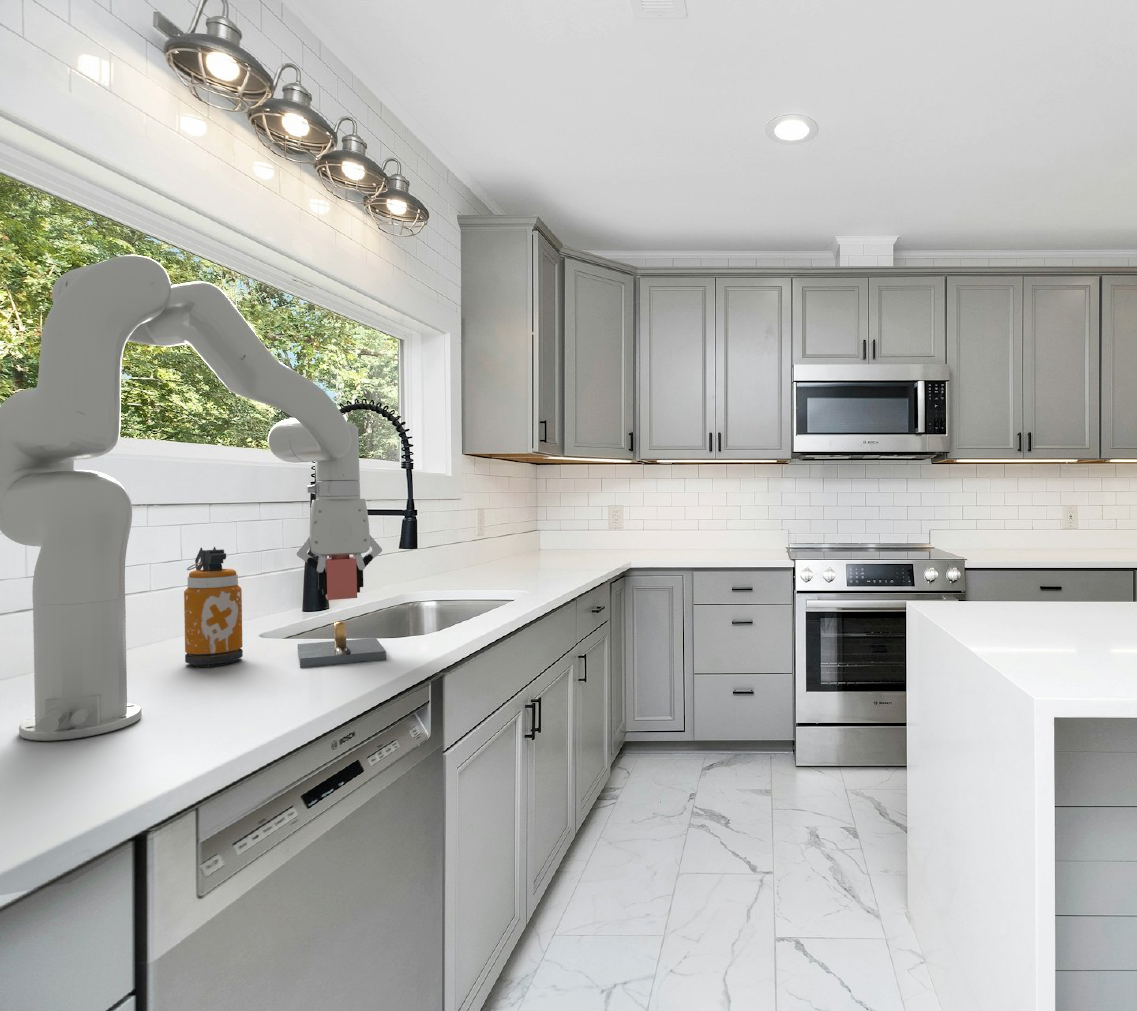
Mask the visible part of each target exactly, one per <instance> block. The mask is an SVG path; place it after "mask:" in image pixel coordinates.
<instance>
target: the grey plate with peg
mask: <svg viewBox="0 0 1137 1011" xmlns="http://www.w3.org/2000/svg"><path fill="white" fill-rule="evenodd" d="M333 623H334V624H333V628H334V631H333V632H334V636H333V637H334V640H332V641H331V640H330V641H320V642H308V643H298V644H297V656H298V661H299V668H301V669H303V668H312V667H313V668H314V667H320V666H321V667H322V666H333V665H343V664H344V663H345V664H353V662H356V663H360V662H359V661H367V662H377V661H385V660H387V651H386V649H385V648H384V646H383V645H382V644H381V642H380V641H379V640H378V639H377V638H376V637H369V638H356V639H355V638H354V639H347V622H346V621H335V622H333ZM345 664H344V665H345Z"/></svg>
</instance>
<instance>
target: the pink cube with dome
mask: <svg viewBox="0 0 1137 1011" xmlns="http://www.w3.org/2000/svg"><path fill="white" fill-rule="evenodd" d="M324 568H325V571H326V574H327V594H326V595H325V599H326V600H327V601H335V600H350V599H358V593H357V571H356V558H355V557H353V556H350V555H332V556H330V557H327V560H326V563H325V567H324Z"/></svg>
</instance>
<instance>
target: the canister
mask: <svg viewBox="0 0 1137 1011" xmlns="http://www.w3.org/2000/svg"><path fill="white" fill-rule="evenodd" d="M226 559H227V553H225V549H221V548H220V549H217V548H216V546H214V547H213V549H205V550H204V549H203V547H200V549H199V551H198V553H197V555H196V557H195V559H194V564H192V565H190V566H189V567H186V571H190V572H189V573H188V576H187V588H186V589H185V590H184V592H183V602H184V603H183V604H184V605H183V608H184V609H183V610H184V611H183V613H184V652H185V654H184V660H185V663H186V664H189V665H193V666H194V667H201V668H204V667H205V668H206V667H207V668H208V667H211V668H212V667H220V666H224V665H229V664H232V663H234V662H235V661H236V660H239V659H242V658H243V651H244V650H243V649H242V648H243V599H242V598H243V596H242V595H243V592H242V587H241V586H240V585H239V578H238V577H239V576H238V573H237V570H235V569H232V568H223V564H224V560H226ZM193 569H195V570H193ZM191 570H193V571H191Z"/></svg>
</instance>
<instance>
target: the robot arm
mask: <svg viewBox="0 0 1137 1011" xmlns="http://www.w3.org/2000/svg"><path fill="white" fill-rule="evenodd" d="M51 299H52V306H51V307H50V310H49V311H48V313H47V317H46V319H45V321H44V324H43V327H42V332H41V340H40V351H39V352H40V353H39V359H38V361H39V364H38V377H37V383H36V387H32V388H26V389H23V390H21V391H18V392H16V393H13V394H12V395H11V396H9V397H8V398H7V399H6V400H5V401H3V402H2V404H1V405H0V532H1V533H2V534H3V536H5V537H6V538H7V539H10V540H11V541H13V542H15V543H17V544H20V545H24V546H29V547H40V549H39V553H38V557H37V559H36V563H35V566H34V570H33V578H32V589H31V590H32V591H31V592H32V620H33V621H32V624H33V626H32V628H33V630H32V631H33V670H34V673H33V677H34V679H33V680H34V684H33V685H34V686H33V687H34V716H31V717H29V718H27V719H25V720H24V721H23V722H22V723H20V724H19V727H18V730H19V731H18V734H19V736H20V737H21V738H23V739H26V740H29V741H30V740H31V741H44V742H45V741H48V742H49V741H63V740H64V741H65V740H73V739H80V738H87V737H91V736H92V737H93V736H97V735H101V734H102V735H103V734H106V733H109V732H110V733H111V732H113V731H117V730H120V729H123V728H126V727H129V726H131V725H133V724H134V723H136V722H138V721H139V720H140V719H141V718H142V716H143V715H142V707H141V706H139V705H137V704H134V703H129V702H128V678H127V676H128V675H127V674H128V671H127V670H128V669H127V666H128V665H127V620H126V618H127V617H126V559H127V558H126V557H127V549H128V548H127V547H128V543H129V539H130V533H131V528H132V522H133V506H132V500H131V499H130V496H129V494H128V492H127V490H126V489H125V488H124V486H123V485H122V484H121V482H119V481H117V479H115V478H114V477H111V476H109V475H107V474H105V473H103V472H99V471H95V470H89V469H87V470H85V469H75V470H74V467H75V466H74V465H75V463H74V462H75V461H77V460H88V459H93V458H99V457H101V456H104V455H106V454H108V453H110V452H111V451H112V450H113V449H114V448H115V447H116V445H117V443H118V442H119V439H120V435H121V434H120V433H121V425H122V424H121V419H122V418H121V413H122V412H121V411H122V404H121V403H122V402H121V401H122V390H121V389H122V363H123V354H124V350H125V346H126V344H127V342H130V343H131V342H132V343H136V344H141V345H150V346H157V347H176V346H182V345H190V346H191V347H192V349H193V350H194V351H195V352H196V353H197V354H198V356H199V357H200V358H201V359H202V360H203V361H204V362H205V363H206V365H207V366H208V367H209V368H210V370H211V371H212V372H213V373H214V374H215V375H216V377H217V378H218V379H219V381H221V382H222V384H223V385H224V386H225V388H227V390H229V391H230V392H231V393H233V394H235V395H237V396H240V397H242V398H245V399H247V400H248V399H249V401H250V400H251V401H254V402H257V403H261V404H265V405H268V406H270V407H274V408H276V409H278V410H280V411H282V412H284V413H286V414H287V415H289V416H291V417H292V418H287V419H282V420H281V421H279V422H277V423H276V424H274V425H273V426H272V427H271V429H270V431H269V433H268V436H267V444H268V447H269V450H270V451H271V453H272V454H273V455H274V456H275V457H276V458H277V459H279V460H282V461H284V462H287V463H295V464H296V463H311V462H315V463H314V464H315V465H314V466H315V483H313V484H311V485H306V486H307V488H306V489H307V490H306V491H307V494H314V495H315V496H316V497H315V498H316V499H312V500H311V505H310V513H309V514H310V516H309V536H308V537H307V539H306V540H305V541H304V543H303V544H302V545H301V546H300V547H299V549H298V550H297V551H296V556H297V557H298V558H299V559H301V560H302V561H304V562H305V563H307V564H308V565H309V566H311V567H312V568H313V569H314V570H315V571H316V572H317V586H318V587H317V588H318V591H321V592H322V596H326V594H327V574H326V571H325V563H326V560H327V558H328V556H329V557H331V556H332V555H349V556H350V555H352V557H355V558H356V571H357V594H358V593H361V588H364V570H365V568H366V567H367V566H368V565H369V564H370V563H371V562H372V561H373V560H374V559H375V558H376V557H377V556H379V554H381V553H382V551H383V548H382V547H381V546H380V544H379V543H378V542H377V541H376V540H375V539H374V538H373V537H372V536H371V535H370V522H369V513H368V507H367V503H366V502H367V501H366V499H365V498H361V480H360V475H361V474H360V448H359V447H360V444H359V443H360V441H359V439H360V438H359V437H360V436H359V430H358V426H357V425H356V424H354V423H353V422H349V421H347V420H346V418H345V417H344V414H343V413H342V412H341V410H340V409H339V408H338V407H337V405H336V404H335V403H334V401H333V399H331V397H330V396H329V395H328V393H326V391H324V390H323V389H322V388H321V387H319V385H317V384H315V383H314V382H313V381H312V380H310V379H308V378H307V377H306V376H304V375H302V374H301V373H299V372H297V370H294V369H293V368H292V367H290V366H288V365H286V364H284V363H282V362H281V361H279V360H278V359H276V358H275V357H274V356H273V354H272V353H271V352H270V351H269V349H268V348H267V346H266V345H265V344H264V343H263V342H262V341H261V339H260V338H259V336H258V335H257V333H256V332H255V331H254V330H253V328H252V327H251V326H250V324H249V323H248V322H247V320H246V319H245V318H244V317H243V315H242V314H241V312H240V311H239V310H238V308H237V307H236V305H235V304H234V303H233V302H232V300H231V299H230V298H229V297H228V295H227V294H226V293H225V291H223V290H222V289H221V288H220V287H219V286H217V285H215V284H213V283H210V282H206V281H199V280H197V281H190V282H189V281H188V282H183V283H178V284H173V285H172V282H171V280H170V276H169V274H168V272H167V271H166V269H165V268H164V267H163V266H162V265H161V263H159V262H158V261H157V260H154V259H152V258H150V257H147V256H143V255H138V254H125V255H119V256H116V257H112V258H110V259H106V260H101V261H99V262H96V263H93V264H89V265H85V266H81V267H77V268H74V269H71V270H69V271H67V272H65V273H62V275H60V276H59V277H58V278H57V280H56V281H55V283H54V285H53V288H52V290H51ZM370 548H371V550H370ZM309 549H310V552H311V553H312V554H313V555H315V556H318V559H317V560H316V558H313V557H312V556H311V555H309V554H308V550H309ZM369 550H370V551H369ZM367 552H368V553H367ZM365 553H367V554H366V555H364V556H363V555H362V554H365Z"/></svg>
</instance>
